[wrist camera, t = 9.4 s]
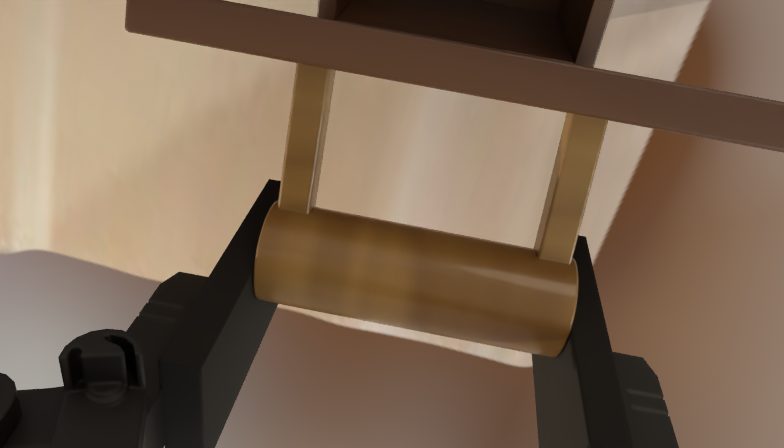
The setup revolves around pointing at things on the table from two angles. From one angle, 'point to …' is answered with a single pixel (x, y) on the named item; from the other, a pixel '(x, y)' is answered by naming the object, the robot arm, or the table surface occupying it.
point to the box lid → (427, 246)
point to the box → (489, 23)
